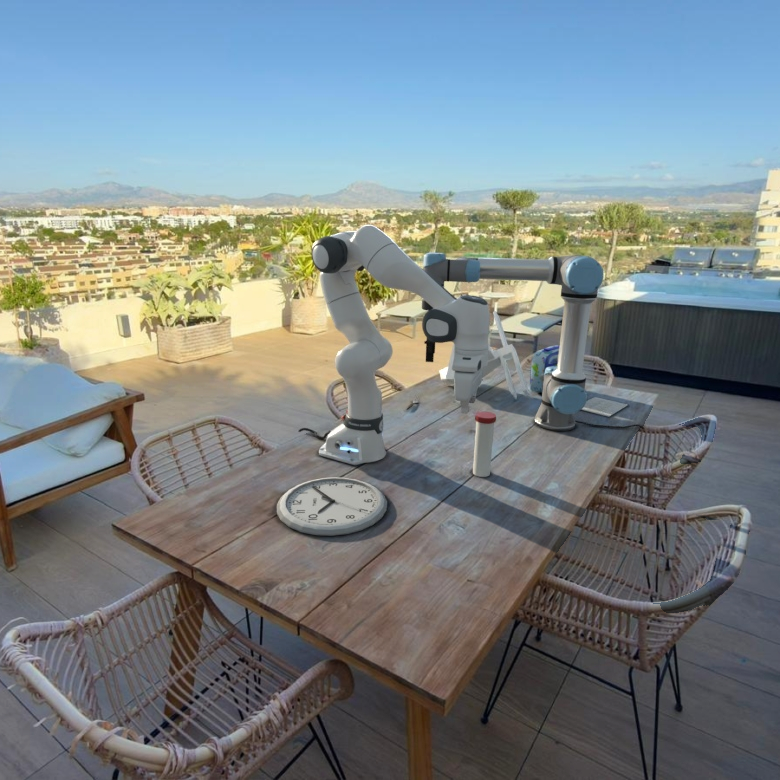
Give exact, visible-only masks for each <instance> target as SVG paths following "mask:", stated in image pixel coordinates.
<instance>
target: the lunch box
mask: <svg viewBox="0 0 780 780" xmlns="http://www.w3.org/2000/svg"><path fill="white" fill-rule="evenodd" d="M559 346H560V345H551V346H548V347H544V348H543V349H539V350H536V351H535V352H534V354H533V356H532V358H531V363H530V374H529V391H532V392H536V393H540V394H542V392H543V382H544V373H545V369H546V368H547V367H553V366H557V364H558V355H559Z"/></svg>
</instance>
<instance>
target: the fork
mask: <svg viewBox="0 0 780 780" xmlns="http://www.w3.org/2000/svg"><path fill="white" fill-rule="evenodd" d="M420 399H421V396H420V395H417V394H416V395H415V396H414V398H413V400H412V403H410V404H409V405H408V406H407V407H406V411H408V410H409V409H410V408H412V407H413V406H414V404H418V403H419V402H420Z"/></svg>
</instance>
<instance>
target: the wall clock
mask: <svg viewBox="0 0 780 780" xmlns="http://www.w3.org/2000/svg"><path fill="white" fill-rule="evenodd" d="M387 509H388V500H387V498H386V496H385V494H384V493H383V492H382V491H381V490H380V489H379V488H377V487H376V486H374V485H372V484H371V483H369V482H365V481H362V480H359V479H355V478H349V477H338V476H337V477H335V476H333V477H332V476H331V477H322V478H317V479H312V480H307V481H305V482H302V483H299V484H297V485H295V486H293V487H292V488H290V489H288V490H287V491H286V492H285V493H284V494H283V495H281V496H280V498H279V499H278V502H277V503H276V515H277V517H278V518H279V520H280V521H281V522H282V523H283V524H285V525H286V526H287V527H288V528H290V529H293V530H295V531H297V532H299V533H303V534H308V535H312V536H327V537H328V536H329V537H331V536H332V537H333V536H342V535H350V534H352V533H356V532H361V531H363V530H366V529H368V528H369V527H372V526H373V525H375V524H376V523H378V522H379V521H380V520H381V519H382V518H383V517H384V516H385V514H386V512H387Z"/></svg>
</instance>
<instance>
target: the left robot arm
mask: <svg viewBox="0 0 780 780" xmlns="http://www.w3.org/2000/svg"><path fill="white" fill-rule="evenodd" d="M310 254H311V255H310V256H311V261H312V263H313V265H314V267H315V269H317V270H318V271H319V272H320V273H319V282H320V287H321V292H322V295H323V299H324V301H325V304H326V307H327V309H328V312H329V315H330V317H331V320H332V323H333V326H334V328H335V329H336V330H337V331H338V332H341V333H342V334H343V335H344V337H345V338H346V339H347V341H348V343H349V344H346V345H345V346H344V347H343V348H341V349H340V350H339V351H338V352H337V354H336V355H335V358H334V368H335V370H336V372H337V373H338V375H339V376H340V377H342V378H343V381H344V384H345V388H346V393H347V410H346V411H345V413H343V414H342V416H341V417H340V422H342V423H340V424H339V425H338V426H336V427H334V428H332V429H329V430H328V431H327V432H325V433H324V435H323V436H322V435H319V434H318V432H317V431H315V430H313V429H311V428H308V427H302V428H300V429H298V431H297V432H298V433H301V432H303V431H306V432H310V433H312V434H314V437H315V438H317V439H320V440H325V442H324V443H323V444H322V445H321V446H320V447H319V449H318V455H319V456H321V457H324V458H328V459H330V460H331V459H332V460H335V461H338V462H342V463H345V464H349V465H352V466H357V465H362V464H366V463H374V462H377V461H380V460H382V459H384V458H385V457H386V456H387V452H386V448H385V444H384V436H383V435H384V434H383V431H384V414H383V413H382V412H383V411H382V410H383V392H382V390H381V388H380V387H379V386H378V384H377V381H376V380H377V379H376V372H377V371H378V370H379V369H382V368H383V367H385V366H386V365H387V364H388V363H389V362H390V360H391V358H392V356H393V353H394V352H393V345H392V343H391V341H389V340H388V339H387V338H386V337H384V336H383V335H382V334H381V333H380V331H379V329H377V327H376V325H375V324H374V322H373V321H372V319H371V317H370V315H369V313H368V311H367V308H366V306H365V303H364V300H363V298H362V296H361V295H362V294H361V292H360V290H359V287H358V285H357V283H356V278H355V276H356V272H363V271H364V270H366V271H367V272H368V274H369V275H370V276H371V277H372V278H373V279H374V280H375V281H376V282H378V284H380V285H381V286H383V287H385V288H388V289H392V290H401V291H406V292H410V293H413V294H416V295H417V296H419V297H421V299H424V300H425V301H426V302H427V303H428V304H429V305H431V306H432V307H433V309H431V310H429V311H428V310H427V311H426V313H425V314H424V315H423V317H422V321H421V327H422V332H423V334H424V336H425V337H426V339H427V338H428V339H429V340H430V341H432V342H435V344H443V343H453V344H455V349H454V361H453V364H452V370H453V371H455V373H454V384H453V385H454V386H453V390H454V399H455V400H456V401H457V402H460V406H461V407H460V408H461V410H460V412H461V414H464V415H467V414H468V413H469V412H470V404H475V402H476V399H477V392H478V388H479V387H480V385H481V383H482V382H483V380H482V369H483V367H485V366H487V363H488V344H489V341H488V337H489V334H490V326H491V325H490V323H491V321H490V320H491V318H490V317H491V315H490V307H489V303H488V301H487V300H486V299H485V298H482V297H480V296H477V295H472V294H471V295H470V294H463V295H460V296H459V297H455V296H454V295H453V294H452V293H451V292H450V291H448V290H447V289H446V288H445V286H444V287H443V286H442V285H441V284H439V283H438V282H437V281H436V280H435V279H434V278H433V277H432V276H430V275H429V274H428V273H427V272H426V271H424V270H423V267H421V266H420V265H419V264H418V263H416V262H415V261H414V260H413V259H412V258H411V257H410V256H409V255H408V254H406V253H405V252H404V250H403V249H402V248H401V247H399V245H398V244H397V243H396V242H395V241H394V240H393V239H392V238H391V237H390V236H389V235H387V234H386V233H385V232H383V231H382V230H381V229H379V228H378V227H377V226H374V225H372V224H367V225H363V226H361V227H359V228H358V229H357V230H351V231H350V230H349V231H341V232H339V233H335V234H331V235H325V236H323V237H320V238H319V239H317V240H315V241H314V242H313V244H312V247H311V253H310Z"/></svg>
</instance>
